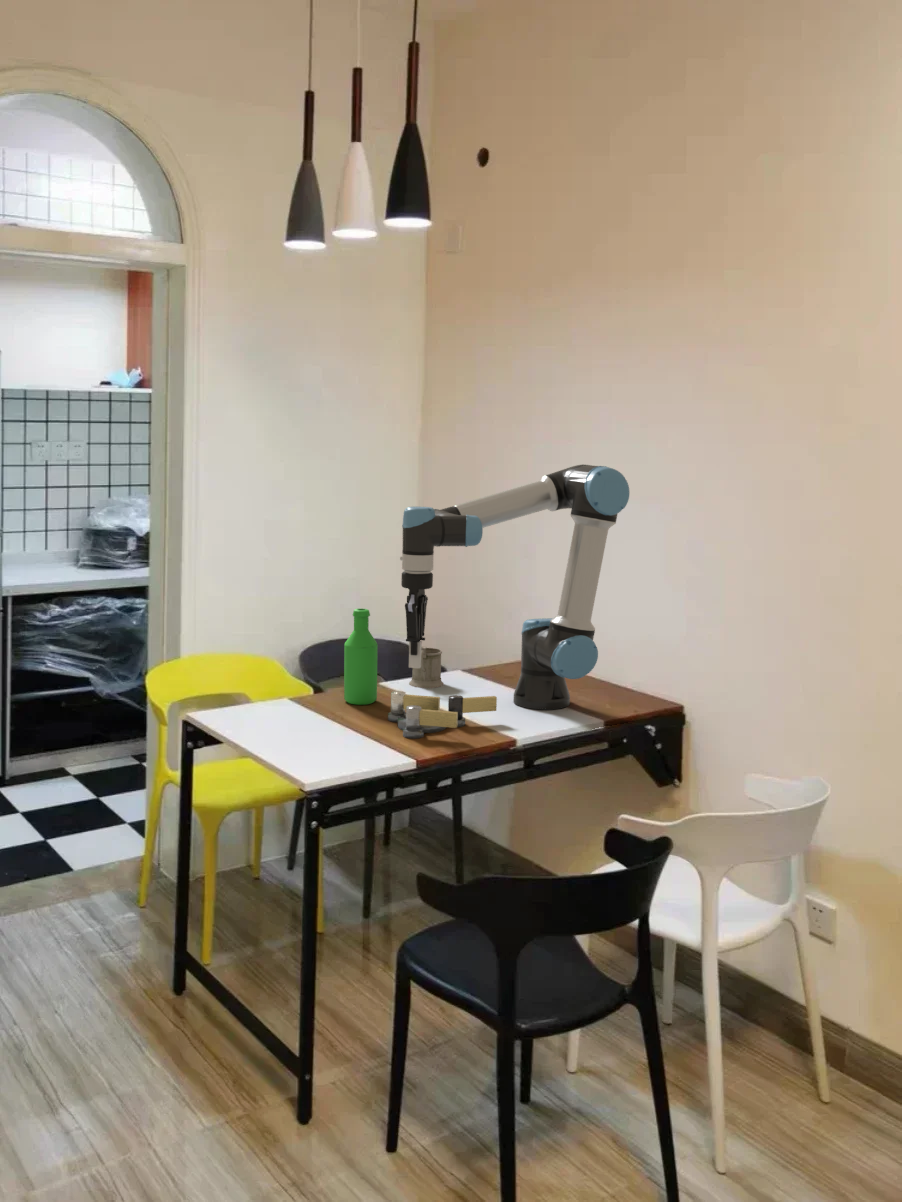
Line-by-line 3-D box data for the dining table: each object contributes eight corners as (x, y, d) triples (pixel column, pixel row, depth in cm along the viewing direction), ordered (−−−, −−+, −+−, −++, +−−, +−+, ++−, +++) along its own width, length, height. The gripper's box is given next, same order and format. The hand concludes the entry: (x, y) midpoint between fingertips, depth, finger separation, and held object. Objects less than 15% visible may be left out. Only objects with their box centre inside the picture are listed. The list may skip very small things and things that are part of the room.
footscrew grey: (404, 730, 270) (404, 708, 269) (408, 727, 273) (408, 704, 272) (455, 735, 267) (455, 712, 266) (458, 731, 270) (458, 708, 270)
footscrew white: (389, 715, 284) (389, 693, 283) (393, 711, 287) (393, 690, 286) (437, 719, 281) (437, 697, 280) (440, 715, 284) (441, 694, 283)
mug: (412, 679, 329) (413, 638, 327) (445, 680, 328) (446, 640, 326) (403, 690, 315) (404, 648, 313) (438, 692, 314) (439, 650, 312)
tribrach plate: (467, 722, 284) (467, 713, 283) (451, 742, 267) (451, 732, 266) (391, 716, 288) (391, 707, 288) (370, 735, 271) (370, 725, 271)
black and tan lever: (450, 720, 279) (451, 699, 279) (446, 717, 283) (446, 695, 282) (497, 717, 283) (498, 696, 282) (492, 714, 287) (493, 692, 286)
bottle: (379, 698, 306) (380, 607, 302) (374, 706, 297) (375, 612, 293) (347, 696, 307) (347, 606, 303) (341, 704, 298) (341, 611, 294)
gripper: (409, 567, 279) (406, 660, 282) (394, 573, 266) (392, 671, 270) (438, 568, 277) (436, 663, 281) (425, 575, 264) (423, 674, 268)
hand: (414, 667), depth 275 cm, fingers closed
